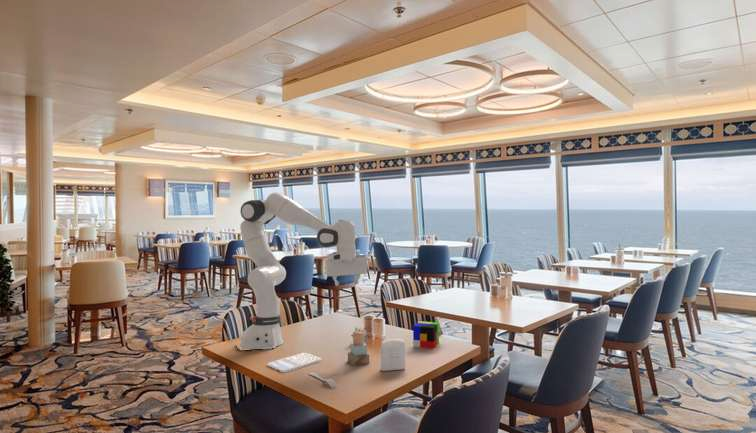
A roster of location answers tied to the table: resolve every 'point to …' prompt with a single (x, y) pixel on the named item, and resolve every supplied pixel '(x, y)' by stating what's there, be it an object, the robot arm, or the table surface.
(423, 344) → the puzzle toy
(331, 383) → the fork
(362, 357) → the walnut block
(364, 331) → the game die
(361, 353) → the blue-grey cube
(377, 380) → the table surface
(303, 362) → the calculator
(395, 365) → the photo printer
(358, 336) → the terracotta capsule
